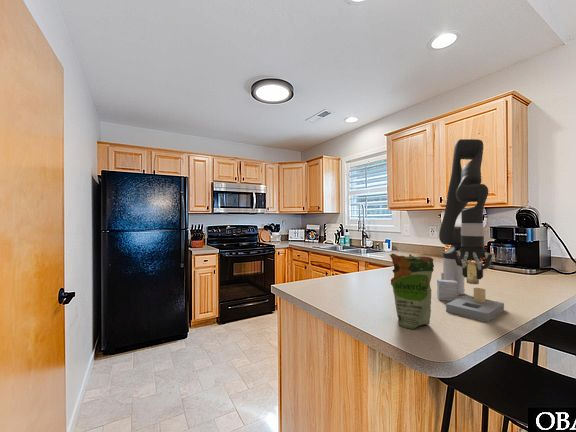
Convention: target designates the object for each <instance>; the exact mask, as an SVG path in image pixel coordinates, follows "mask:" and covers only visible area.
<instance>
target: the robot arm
mask: <svg viewBox="0 0 576 432" xmlns="http://www.w3.org/2000/svg"><path fill="white" fill-rule="evenodd" d="M453 148H454V149H453V156H452V157H453V158H452V164H451V165H452V167H451V174H450V179H449V184H448V189H447V195H446V201H445V202H446V203H445V208H444V214H443V217H442V221H441V224H440V228H439V234H438V236H439V237H438V238H439V242H440V243H441V244H443V245H445V246H450V247H449V248H448V249H447V250H445V251H443V253H442V272H441V274H440V276H441V277H440V278H441V279H440V280H453V281H457V282H458V283H459V296H464V295H465V291H466V290H465V278H466V279H467V268H466V264H467V262H471V261H472V262H475V263H476V264H477V267H478V270H477V276H478V279H479V281H480V280H482V279H483V278H484V270H486V269H489V268H490V267H491V264H492V261H493V259H494V257H495V254H494V253H490V252H487V251H486V250H485V227H484V223H483V222H484V208H485V205H486V201H487V199H488V196H489V188H488V186H487V185H486V184H485V183H482V170H481V168H482V162H483V156H484V155H483V154H484V142H483V141H482V140H481V139H472V138H471V139H470V138H469V139H466V138H461V139H457V140H456V141H455V144H454V147H453ZM462 160H468V161H469V160H470V161H469V162H467V163H466V164H465V165H464V166H463V167H462V163H461V161H462ZM468 203H476V205H475V206H471V207H468V208H467V207H466V206H467V205H468ZM460 215H461V225H460V226H458V225H457V226H456V223H457V219H458V218H459V217H460ZM484 256H485V259H486V260H485V262H484V264H483V259H482V258H483V257H484Z"/></svg>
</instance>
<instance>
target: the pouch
mask: <svg viewBox="0 0 576 432" xmlns="http://www.w3.org/2000/svg"><path fill="white" fill-rule="evenodd" d="M389 257H390V258H391V262H392V264H393V269H392V271H391V272H392V273H393V277H391V279H390V285H391V287H392V292H393V295H394V304H395V310H396V317H397V320H398V323H399V326H401V327H402V328H405V329H409V330H410V329H411V330H414V329H417V327H420V326H422V325H427V326H428V325H430V324H431V323H430V322H431V313H432V310H431V309H432V306H431V304H432V289H431V280H432V277H433V276H432V275H433V272H434V267H435V265H434V258H432V257H431V256H415V255H414V256H413V255H412V254H411V253H410V254H409V255H408V256H406V255H398V254H396V253H391V254H389Z"/></svg>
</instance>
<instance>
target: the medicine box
mask: <svg viewBox="0 0 576 432" xmlns="http://www.w3.org/2000/svg"><path fill="white" fill-rule="evenodd" d="M459 296H460V295H459V283H458V282H457V281H453V280H441V279H437V280H436V298H437V299H438V300H439V301H444V302H445V301H447V302H451V301H453V300H455V299H458V298H460V297H459Z"/></svg>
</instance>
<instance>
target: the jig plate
mask: <svg viewBox="0 0 576 432" xmlns="http://www.w3.org/2000/svg"><path fill="white" fill-rule="evenodd" d="M445 311H446V312H447V313H451V314H456V315H459V316H463V317H467V318H470V319H473V320H474V319H475V320H477V321H478V320H479V321H482V322H486V323H490V322H491V321H492V320H493V319H495V318H496V317H497V316H498V315H500V314H501V313H502V312H504V311H505V302H502V301H495V300H491V299H486V288H481V287H474V288H473V296H471V295H466V294H463V295H461V296H460V297H459V298H458V299H455V300H453V301H448V302H447V303H446V304H445Z"/></svg>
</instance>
